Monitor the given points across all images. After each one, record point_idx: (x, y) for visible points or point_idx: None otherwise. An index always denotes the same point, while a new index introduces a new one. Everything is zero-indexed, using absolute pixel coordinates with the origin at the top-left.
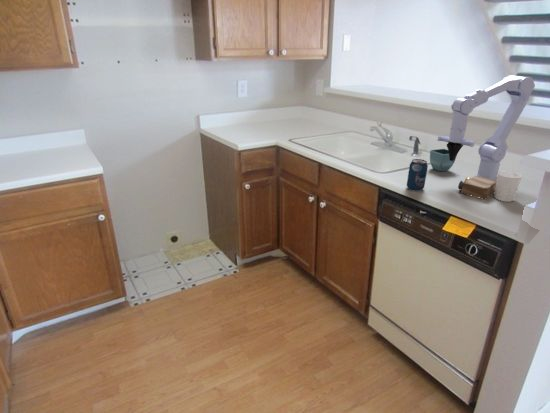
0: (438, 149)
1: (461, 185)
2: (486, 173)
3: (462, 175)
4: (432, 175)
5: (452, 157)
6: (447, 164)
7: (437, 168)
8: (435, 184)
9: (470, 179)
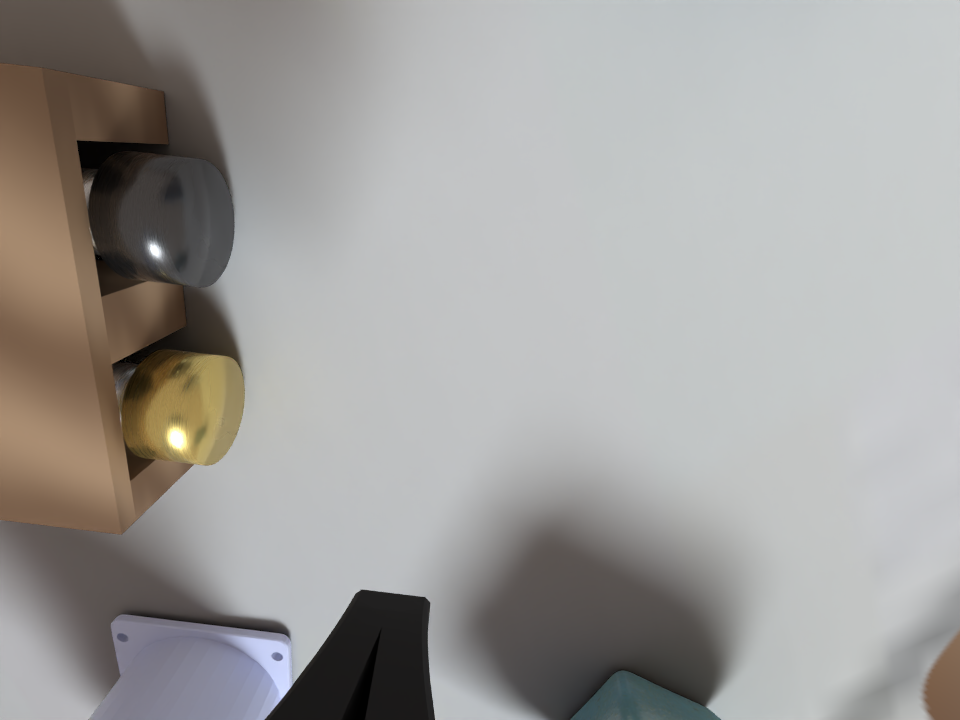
0: None
1: (146, 154)
2: (133, 704)
3: None
4: (659, 521)
5: (341, 647)
6: None
7: (659, 694)
8: (538, 228)
9: (72, 332)
